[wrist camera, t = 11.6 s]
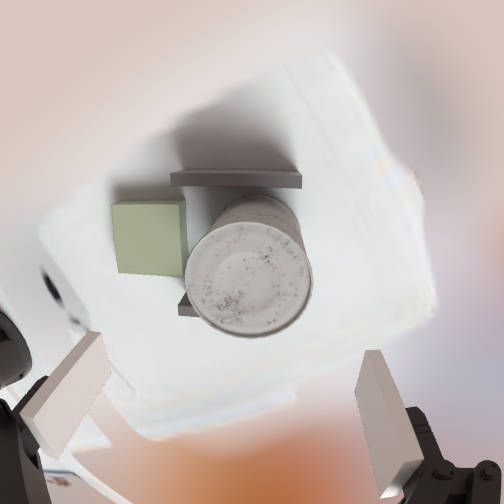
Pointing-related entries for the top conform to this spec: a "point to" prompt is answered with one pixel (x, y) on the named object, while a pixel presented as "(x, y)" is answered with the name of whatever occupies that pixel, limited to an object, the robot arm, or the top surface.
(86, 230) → the top surface
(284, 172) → the parallel grey rails
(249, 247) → the grey cylindrical piece
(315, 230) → the top surface
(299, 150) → the top surface
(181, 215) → the block
